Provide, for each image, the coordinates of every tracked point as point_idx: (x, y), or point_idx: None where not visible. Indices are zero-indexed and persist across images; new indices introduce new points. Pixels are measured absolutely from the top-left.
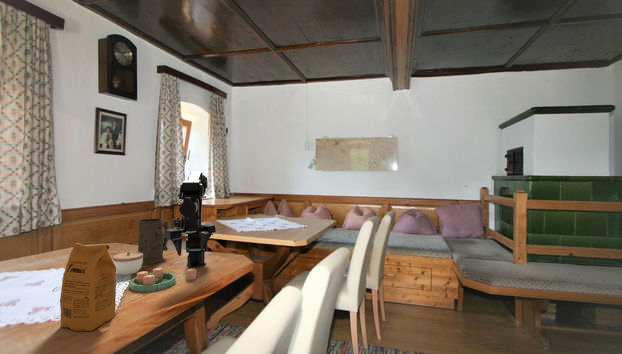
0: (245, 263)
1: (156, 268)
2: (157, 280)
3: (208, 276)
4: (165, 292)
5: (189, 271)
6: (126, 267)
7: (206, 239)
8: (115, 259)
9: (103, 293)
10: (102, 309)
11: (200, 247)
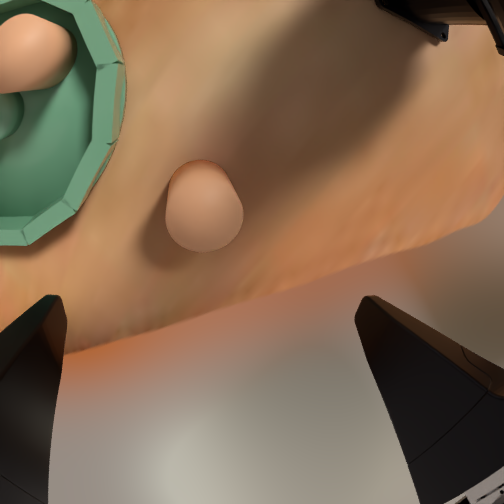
0: (491, 203)
1: (19, 18)
2: (4, 137)
3: (307, 210)
4: (24, 253)
5: (177, 233)
6: None
7: (412, 459)
8: None
9: None
10: None
11: (388, 317)
